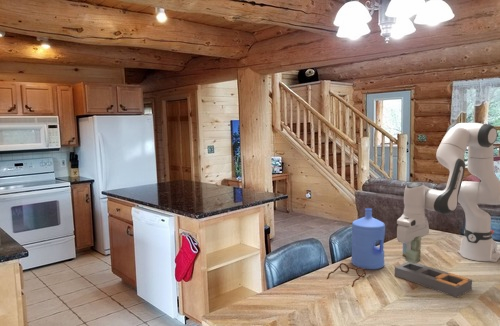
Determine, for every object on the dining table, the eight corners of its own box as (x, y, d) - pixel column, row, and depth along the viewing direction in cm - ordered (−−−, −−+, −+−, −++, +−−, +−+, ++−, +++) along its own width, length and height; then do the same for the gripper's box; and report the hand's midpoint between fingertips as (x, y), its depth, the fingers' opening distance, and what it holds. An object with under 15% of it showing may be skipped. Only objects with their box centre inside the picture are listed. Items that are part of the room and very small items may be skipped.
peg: (411, 258, 179) (411, 233, 178) (420, 261, 176) (420, 235, 174) (405, 260, 177) (406, 235, 175) (414, 263, 173) (415, 237, 172)
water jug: (349, 267, 187) (350, 211, 184) (353, 257, 202) (354, 204, 199) (383, 271, 181) (384, 213, 178) (385, 260, 196) (386, 206, 193)
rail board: (410, 269, 184) (410, 260, 184) (471, 289, 162) (472, 279, 161) (394, 275, 177) (394, 266, 176) (456, 297, 154) (457, 287, 154)
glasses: (366, 279, 175) (366, 268, 174) (352, 288, 165) (352, 277, 165) (340, 271, 184) (340, 261, 183) (325, 280, 174) (325, 269, 174)
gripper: (420, 213, 182) (419, 241, 184) (394, 221, 171) (393, 251, 172) (433, 215, 177) (432, 245, 179) (407, 224, 165) (406, 255, 167)
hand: (413, 248), depth 175 cm, fingers closed on peg, 4 cm apart
